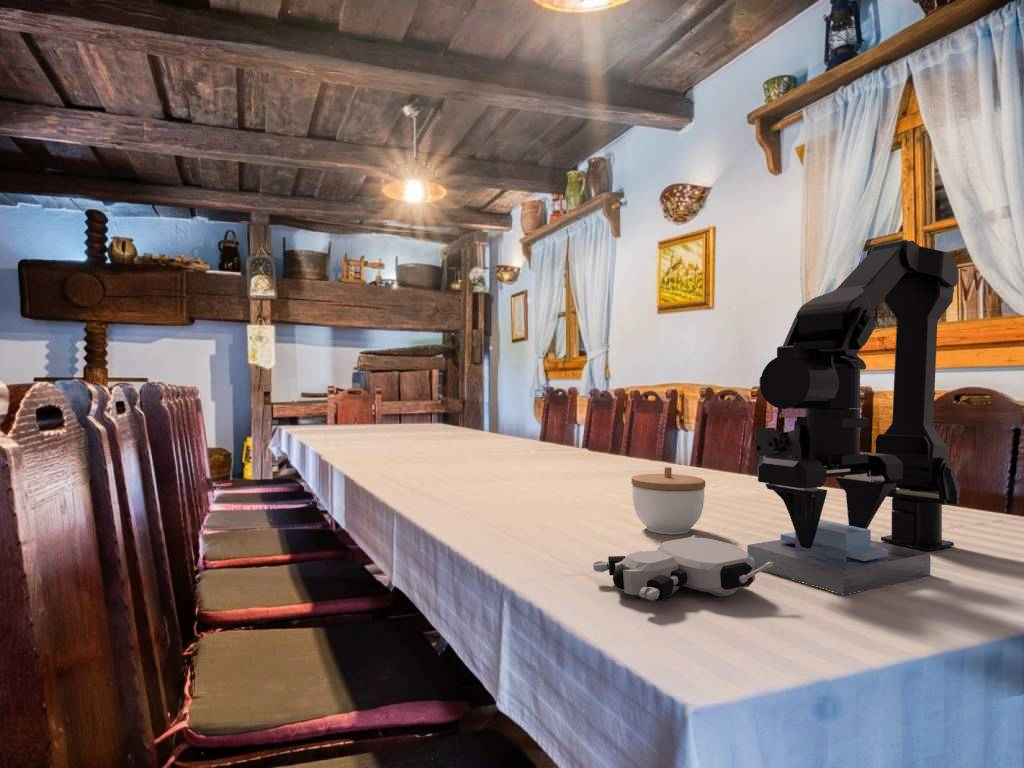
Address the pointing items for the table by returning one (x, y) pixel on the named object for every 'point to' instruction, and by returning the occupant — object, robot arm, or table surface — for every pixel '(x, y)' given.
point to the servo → (840, 542)
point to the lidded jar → (668, 501)
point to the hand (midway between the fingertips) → (831, 543)
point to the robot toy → (683, 568)
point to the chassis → (841, 566)
